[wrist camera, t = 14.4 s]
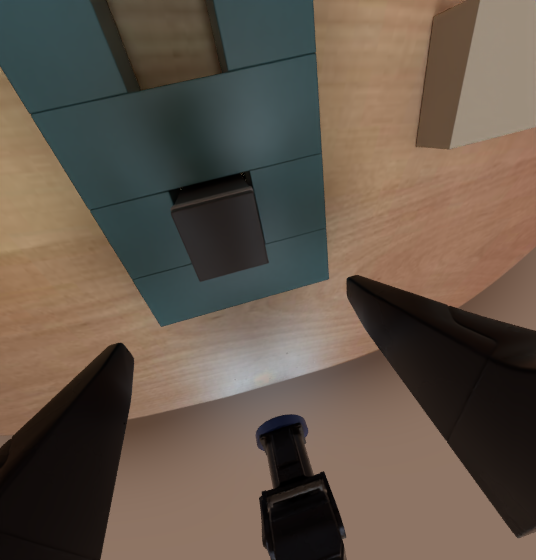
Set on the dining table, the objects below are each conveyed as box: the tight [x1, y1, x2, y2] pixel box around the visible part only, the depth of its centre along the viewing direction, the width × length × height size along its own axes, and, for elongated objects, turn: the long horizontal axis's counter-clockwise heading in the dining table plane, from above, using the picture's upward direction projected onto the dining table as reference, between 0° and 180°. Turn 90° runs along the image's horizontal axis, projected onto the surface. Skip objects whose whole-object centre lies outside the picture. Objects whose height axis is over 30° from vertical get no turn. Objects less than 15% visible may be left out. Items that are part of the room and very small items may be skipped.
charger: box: [170, 173, 269, 282], centre depth 15 cm, size 4×4×7 cm
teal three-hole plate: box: [0, 0, 329, 327], centre depth 12 cm, size 32×14×4 cm, turn 11°
